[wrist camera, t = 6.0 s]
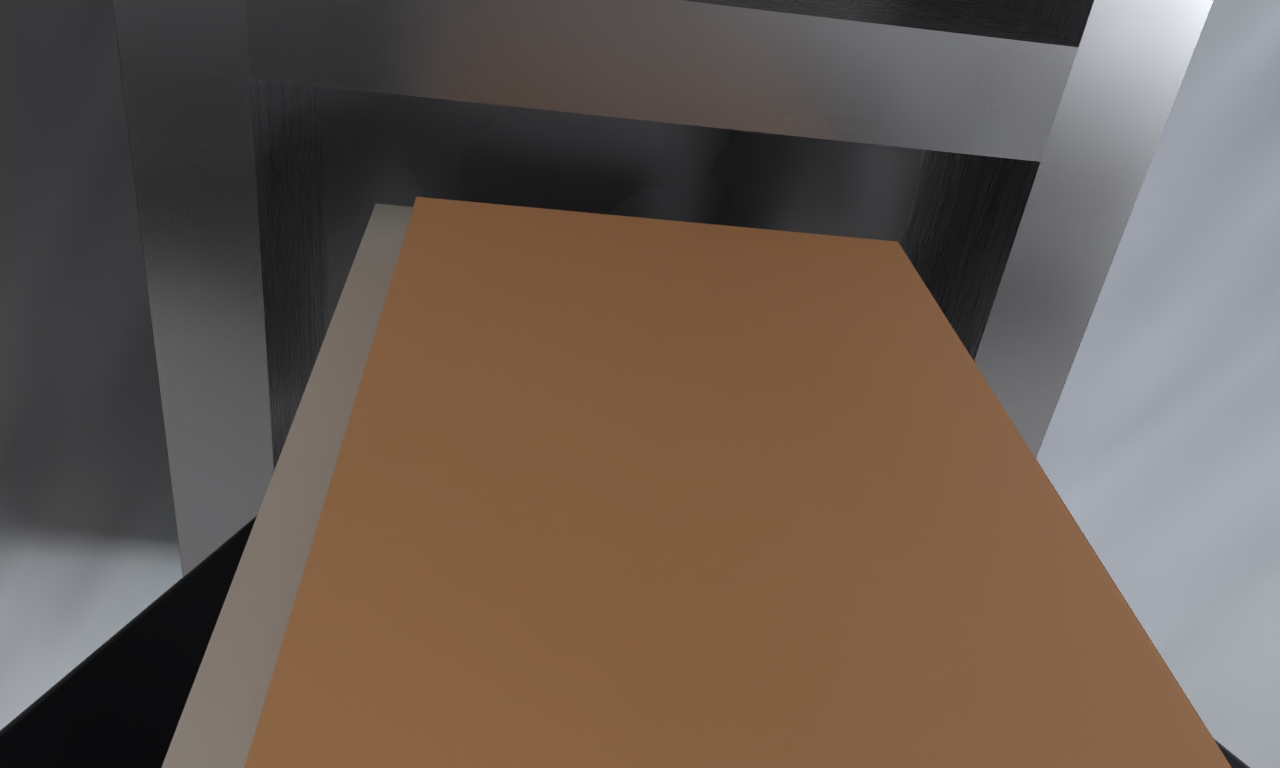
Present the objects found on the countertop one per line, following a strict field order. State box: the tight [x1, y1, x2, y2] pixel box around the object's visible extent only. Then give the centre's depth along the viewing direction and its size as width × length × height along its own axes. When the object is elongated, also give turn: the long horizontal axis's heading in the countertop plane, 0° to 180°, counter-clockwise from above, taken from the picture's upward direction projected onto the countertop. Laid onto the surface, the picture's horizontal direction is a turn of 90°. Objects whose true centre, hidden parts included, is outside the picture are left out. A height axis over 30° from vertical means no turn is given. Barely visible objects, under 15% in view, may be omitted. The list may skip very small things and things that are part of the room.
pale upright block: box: [162, 197, 1232, 768], centre depth 6 cm, size 4×4×7 cm
